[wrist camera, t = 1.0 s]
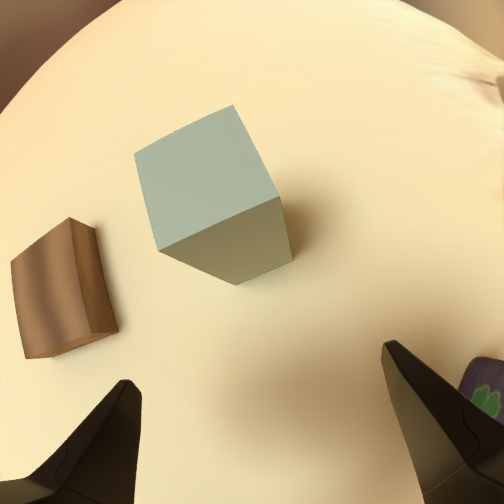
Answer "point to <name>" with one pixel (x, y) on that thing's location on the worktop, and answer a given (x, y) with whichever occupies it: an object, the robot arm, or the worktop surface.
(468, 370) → the flask
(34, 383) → the worktop surface
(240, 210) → the tall block
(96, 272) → the base brick
